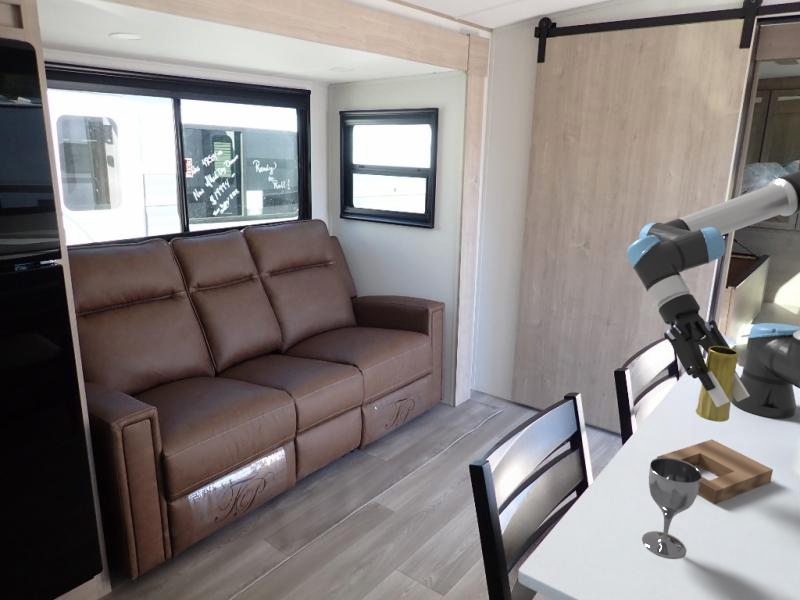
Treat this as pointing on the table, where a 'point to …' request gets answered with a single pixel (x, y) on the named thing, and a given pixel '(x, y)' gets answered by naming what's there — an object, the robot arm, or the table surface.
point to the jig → (723, 470)
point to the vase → (724, 371)
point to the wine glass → (671, 501)
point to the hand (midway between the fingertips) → (733, 401)
